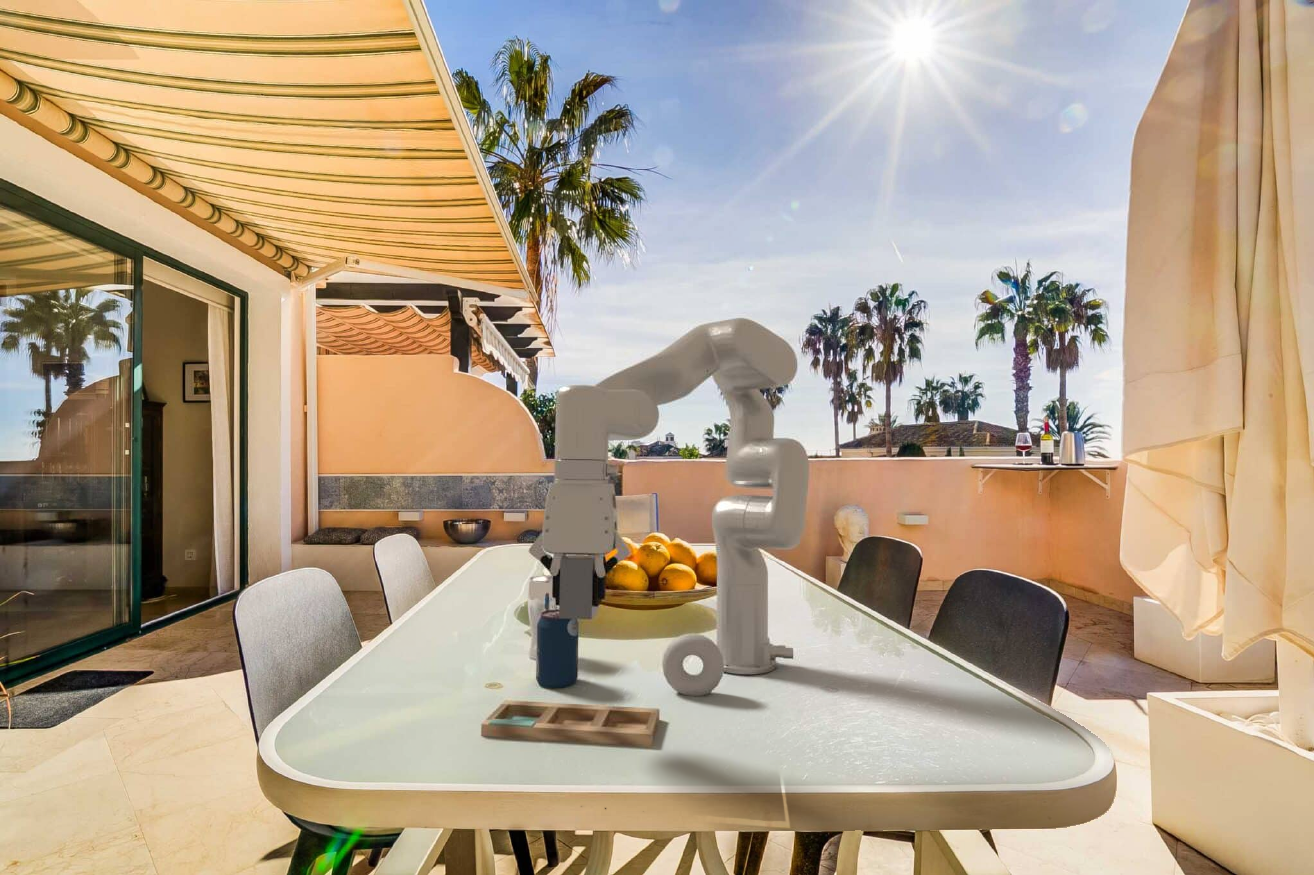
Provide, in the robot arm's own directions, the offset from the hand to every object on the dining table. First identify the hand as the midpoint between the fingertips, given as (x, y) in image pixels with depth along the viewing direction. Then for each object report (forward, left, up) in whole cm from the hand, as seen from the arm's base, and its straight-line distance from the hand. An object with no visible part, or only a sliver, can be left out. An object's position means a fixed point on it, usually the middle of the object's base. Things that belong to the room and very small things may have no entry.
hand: (578, 602), depth 89 cm
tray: (+1, 0, -18) cm, 18 cm away
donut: (-15, -16, -18) cm, 28 cm away
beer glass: (+15, -34, -18) cm, 41 cm away
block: (0, 0, -2) cm, 2 cm away
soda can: (+8, -18, -18) cm, 27 cm away
